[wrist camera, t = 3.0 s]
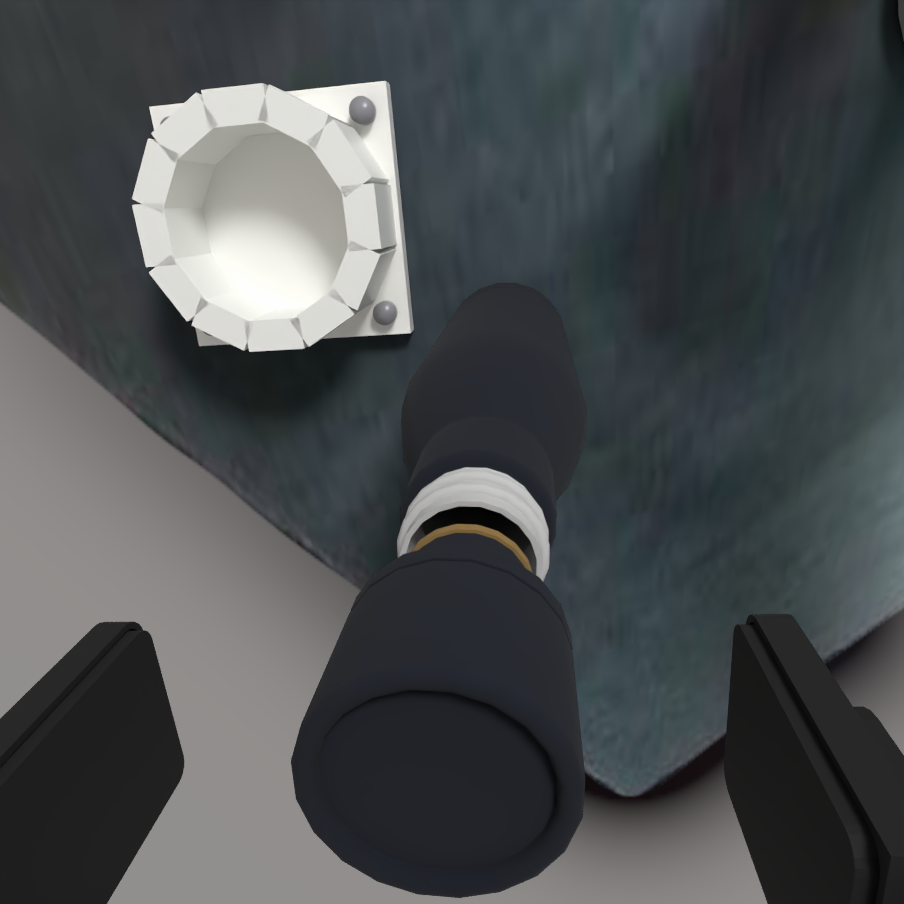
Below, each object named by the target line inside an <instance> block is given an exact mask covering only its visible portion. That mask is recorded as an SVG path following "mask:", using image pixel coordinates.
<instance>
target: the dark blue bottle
mask: <svg viewBox="0 0 904 904" xmlns="http://www.w3.org/2000/svg"><path fill="white" fill-rule="evenodd" d="M586 423H587V408H586V405H585V401H584V397H583V394H582V390H581V387H580V383H579V380H578V376H577V373H576V369H575V366H574V362H573V359H572V355H571V352H570V348H569V345H568V341H567V338H566V334H565V331H564V327H563V324H562V321H561V317H560V315H559V313H558V312H557V311H556V309H555V308H554V306H553V305H552V303H551V302H550V301H549V300H548V299H547V298H545V297H544V296H543V295H541V294H540V293H539V292H537V291H536V290H535V289H532V288H529V287H526V286H523V285H520V284H517V283H496V284H494V285H491V286H488V287H485V288H482V289H479V290H478V291H476V292H475V293H474V294H472V295H471V296H470V297H468V298H467V299H466V300H464V301H463V303H462V304H461V306H460V307H459V308H458V310H457V311H456V313H455V314H454V316H453V317H452V319H451V320H450V322H449V323H448V325H447V326H446V328H445V329H444V331H443V332H442V334H441V335H440V337H439V338H438V340H437V341H436V343H435V344H434V346H433V347H432V349H431V350H430V352H429V353H428V355H427V356H426V358H425V359H424V361H423V362H422V364H421V365H420V367H419V368H418V370H417V371H416V373H415V374H414V376H413V377H412V379H411V381H410V382H409V386H408V389H407V393H406V396H405V400H404V403H403V407H402V417H401V426H402V445H403V459H404V463H405V465H406V468H407V470H408V473H409V475H410V478H411V479H410V481H409V483H408V486H407V488H406V491H405V495H404V498H403V501H402V505H401V508H400V518H401V529H400V532H399V536H398V539H397V551H398V558H397V559H395V560H394V561H392V562H390V563H389V564H387V565H386V566H384V567H383V568H381V569H379V570H378V571H376V572H375V573H374V575H373V576H372V577H371V579H370V580H369V581H368V583H367V584H366V585H365V586H364V588H363V589H362V590H361V592H360V593H359V594H358V596H357V597H356V600H355V602H354V604H353V607H352V609H351V612H350V613H349V616H348V618H347V621H346V623H345V625H344V627H343V630H342V632H341V634H340V636H339V639H338V641H337V643H336V645H335V648H334V650H333V653H332V655H331V657H330V659H329V662H328V664H327V666H326V669H325V671H324V673H323V675H322V678H321V680H320V682H319V685H318V687H317V689H316V692H315V694H314V696H313V698H312V701H311V703H310V705H309V707H308V710H307V712H306V714H305V717H304V719H303V721H302V724H301V727H300V730H299V734H298V737H297V741H296V745H295V748H294V752H293V756H292V759H291V765H292V773H293V780H294V787H295V794H296V800H297V802H298V803H299V805H300V807H301V809H302V811H303V813H304V815H305V817H306V818H307V820H308V822H309V824H310V826H311V828H312V830H313V832H314V833H315V834H316V835H317V836H318V837H319V838H320V839H321V840H322V841H323V842H324V843H325V844H326V845H327V846H328V847H329V848H330V849H331V850H332V851H333V852H334V853H335V854H336V855H337V856H338V857H339V858H340V859H341V860H342V861H344V862H345V863H347V864H349V865H351V866H352V867H354V868H356V869H357V870H359V871H361V872H362V873H364V874H366V875H368V876H369V877H371V878H372V879H374V880H376V881H378V882H381V883H384V884H387V885H390V886H394V887H397V888H400V889H403V890H406V891H409V892H413V893H415V894H421V895H432V896H444V897H455V898H462V897H469V896H476V895H482V894H489V893H496V892H501V891H503V890H506V889H508V888H510V887H512V886H515V885H517V884H520V883H522V882H524V881H527V880H529V879H531V878H533V877H536V876H538V875H539V874H540V873H541V872H542V871H543V870H544V869H545V868H546V867H548V866H549V865H550V864H551V863H552V862H554V861H555V860H556V859H557V858H558V857H559V856H560V855H561V854H562V853H564V852H565V850H566V849H567V847H568V845H569V843H570V841H571V839H572V837H573V835H574V833H575V831H576V829H577V827H578V826H579V824H580V822H581V820H582V817H583V805H584V789H585V772H584V761H583V751H582V741H581V731H580V721H579V711H578V701H577V691H576V681H575V671H574V660H573V653H572V640H571V633H570V630H569V627H568V624H567V621H566V618H565V615H564V613H563V610H562V607H561V604H560V603H559V602H558V600H557V599H556V598H555V597H554V595H553V594H552V593H551V591H550V590H549V589H548V588H547V586H546V585H545V584H544V583H543V580H544V578H545V576H546V573H547V571H548V568H549V552H550V549H551V547H552V544H553V542H554V539H555V537H556V517H557V512H556V500H557V499H558V498H559V497H560V496H561V495H562V493H563V492H564V491H565V490H566V489H567V487H568V485H569V483H570V480H571V478H572V476H573V473H574V471H575V468H576V466H577V463H578V461H579V458H580V456H581V453H582V451H583V447H584V443H585V439H586Z"/></svg>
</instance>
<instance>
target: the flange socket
mask: <svg viewBox="0 0 904 904" xmlns="http://www.w3.org/2000/svg"><path fill="white" fill-rule="evenodd" d="M201 92H202V94H199V93H195V94H194V95H193V96H192V97H190V98H189V99H188V100H187V101H186V102H185V103H180V104H171V105H162V106H153V107H149V108H150V113H151V117H152V122H153V127H154V131H153V132H152V133H151V134H152V135H153V137H154V138H155V139H156V140H154V139H148V141H147V145H146V148H145V152H144V156H143V160H142V163H141V167H140V171H139V175H138V178H137V182H136V186H135V190H134V193H133V197H132V199H133V200H135V201H137V202H139V203H141V204H138V205H132V207H133V212H134V216H135V221H136V225H137V229H138V234H139V238H140V243H141V247H142V252H143V256H144V260H145V265H146V267H155V266H156V267H155V268H154V269H153V270H151V271H150V272H149V274H150V275H151V276H152V278H153V279H154V280H155V281H156V283H157V284H158V285H159V287H160V288H161V289H162V290H163V292H164V293H165V294H166V296H167V297H168V298H169V299H170V301H171V302H172V303H173V304H174V306H175V307H176V308H177V310H178V311H179V312H180V313H181V315H182V316H183V317H184V319H185V320H186V321H190V320H193V322H192V326H194V327H195V329H196V333H197V338H198V343H199V346H210V345H226V344H231V345H233V346H235V347H237V348H239V349H241V350H243V351H244V350H246V349H248V348H249V352H256V351H273V350H290V349H304V348H306V347H307V346H309V347H310V346H311V345H313V344H314V343H316V342H317V341H319V340H320V339H325V338H341V337H357V336H374V335H390V334H406V333H412V331H413V330H414V327H413V316H412V306H411V296H410V286H409V276H408V265H407V255H406V245H405V235H404V225H403V215H402V204H401V194H400V184H399V174H398V164H397V154H396V143H395V133H394V123H393V113H392V103H391V93H390V84H389V83H388V82H386V81H380V82H371V83H362V84H353V85H344V86H335V87H326V88H317V89H308V90H298V91H289V92H284V91H282V90H280V89H278V88H276V87H274V86H271V85H269V86H268V85H266V84H263V83H261V84H252V85H243V86H234V87H225V88H216V89H207V90H201Z"/></svg>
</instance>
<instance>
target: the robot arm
mask: <svg viewBox="0 0 904 904" xmlns="http://www.w3.org/2000/svg"><path fill="white" fill-rule="evenodd" d="M898 16H899V20H900V25H901V30H902V35H903V40H904V0H898ZM183 768H184V756H183V752H182V748H181V744H180V741H179V737H178V733H177V730H176V726H175V722H174V718H173V715H172V711H171V707H170V703H169V700H168V696H167V692H166V689H165V685H164V681H163V678H162V674H161V670H160V666H159V663H158V659H157V656H156V651H155V648H154V644H153V640H152V637H151V635H150V634H149V633H148V632H147V631H143V629H142V627H141V626H140V625H139V624H138V623H136V622H103V623H99V624H97V625H96V626H95V627H93V628H92V629H91V630H90V631H89V633H87V634H86V635H85V636H84V637H83V638H82V639H81V640H80V641H79V642H78V643H77V644H76V645H75V646H74V647H73V648H72V649H71V650H70V651H69V652H68V653H67V654H66V655H65V656H64V657H63V658H62V659H61V660H60V661H59V662H58V663H57V664H56V665H55V666H54V667H53V668H52V669H51V670H50V671H49V672H47V673H46V675H44V676H43V677H42V678H41V680H40V681H38V682H37V683H36V684H35V685H34V686H33V687H32V688H31V689H30V690H29V691H28V692H27V693H26V694H25V695H24V696H23V697H22V698H21V699H20V700H19V701H18V702H17V703H16V704H15V705H14V706H13V707H12V708H11V709H10V710H9V711H8V712H7V713H6V714H5V715H4V716H3V717H2V718H1V719H0V904H107V902H108V901H109V899H110V897H111V896H112V894H113V892H114V891H115V889H116V887H117V886H118V884H119V882H120V881H121V879H122V877H123V876H124V874H125V872H126V871H127V869H128V867H129V866H130V864H131V862H132V861H133V859H134V857H135V855H136V854H137V852H138V850H139V849H140V847H141V845H142V844H143V842H144V840H145V839H146V837H147V835H148V834H149V832H150V830H151V829H152V827H153V825H154V823H155V822H156V820H157V819H158V817H159V815H160V814H161V812H162V810H163V808H164V807H165V805H166V803H167V802H168V800H169V798H170V797H171V795H172V793H173V792H174V790H175V788H176V787H177V785H178V783H179V781H180V779H181V776H182V774H183ZM724 771H725V780H726V785H727V789H728V792H729V795H730V798H731V801H732V804H733V807H734V809H735V812H736V815H737V818H738V821H739V823H740V826H741V829H742V832H743V835H744V838H745V841H746V843H747V846H748V849H749V852H750V855H751V858H752V860H753V863H754V866H755V869H756V872H757V874H758V877H759V880H760V883H761V886H762V889H763V891H764V894H765V897H766V900H767V903H768V904H904V755H903V754H902V753H901V751H900V750H899V748H898V747H897V745H896V744H895V742H894V741H893V740H892V738H891V737H890V735H889V734H888V732H887V731H886V730H885V728H884V727H883V725H882V724H881V722H880V721H879V720H878V718H877V717H876V716H875V715H874V714H873V713H872V712H871V711H870V710H869V709H867V708H865V707H853V706H852V705H851V703H850V702H849V700H848V699H847V697H846V696H845V694H844V692H843V691H842V690H841V688H840V687H839V685H838V684H837V682H836V681H835V679H834V677H833V676H832V675H831V673H830V672H829V670H828V668H827V667H826V665H825V664H824V662H823V661H822V659H821V658H820V656H819V655H818V653H817V652H816V650H815V649H814V647H813V646H812V644H811V643H810V641H809V640H808V638H807V637H806V635H805V634H804V632H803V631H802V629H801V628H800V626H799V625H798V623H797V622H796V620H795V619H794V618H793V616H792V615H789V614H761V615H750V616H748V618H747V621H746V625H736V626H735V629H734V636H733V649H732V663H731V677H730V691H729V705H728V718H727V732H726V746H725V760H724Z"/></svg>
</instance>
